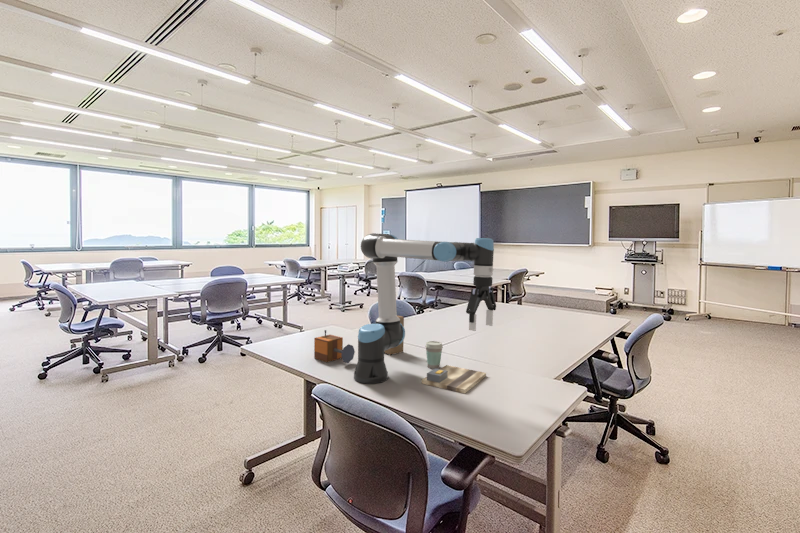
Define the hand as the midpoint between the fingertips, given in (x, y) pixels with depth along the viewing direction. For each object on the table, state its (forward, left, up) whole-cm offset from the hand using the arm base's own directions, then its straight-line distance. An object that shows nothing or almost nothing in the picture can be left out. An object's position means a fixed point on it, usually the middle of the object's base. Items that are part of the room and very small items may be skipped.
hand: (481, 327), depth 159 cm
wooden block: (-62, +27, -27) cm, 72 cm away
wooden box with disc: (-77, -2, -27) cm, 81 cm away
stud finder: (-19, -1, -25) cm, 31 cm away
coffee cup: (-30, +17, -27) cm, 43 cm away
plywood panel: (-14, +6, -26) cm, 30 cm away
